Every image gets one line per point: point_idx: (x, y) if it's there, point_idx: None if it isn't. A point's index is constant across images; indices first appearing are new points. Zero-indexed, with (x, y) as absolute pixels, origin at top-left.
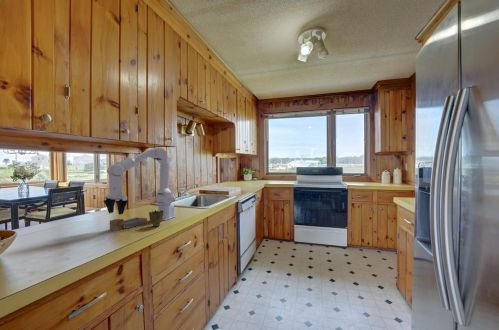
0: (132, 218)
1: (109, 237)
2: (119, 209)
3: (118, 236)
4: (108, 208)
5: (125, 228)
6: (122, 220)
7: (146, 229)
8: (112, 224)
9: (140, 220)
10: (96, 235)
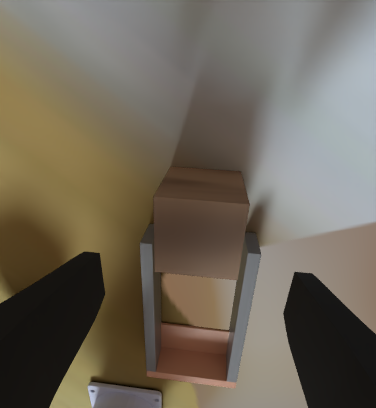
0: (235, 358)
1: (50, 19)
2: (16, 296)
3: (16, 70)
4: (335, 328)
5: (149, 225)
6: (156, 256)
7: (18, 248)
8: (206, 187)
9: (146, 337)
10: (213, 13)
